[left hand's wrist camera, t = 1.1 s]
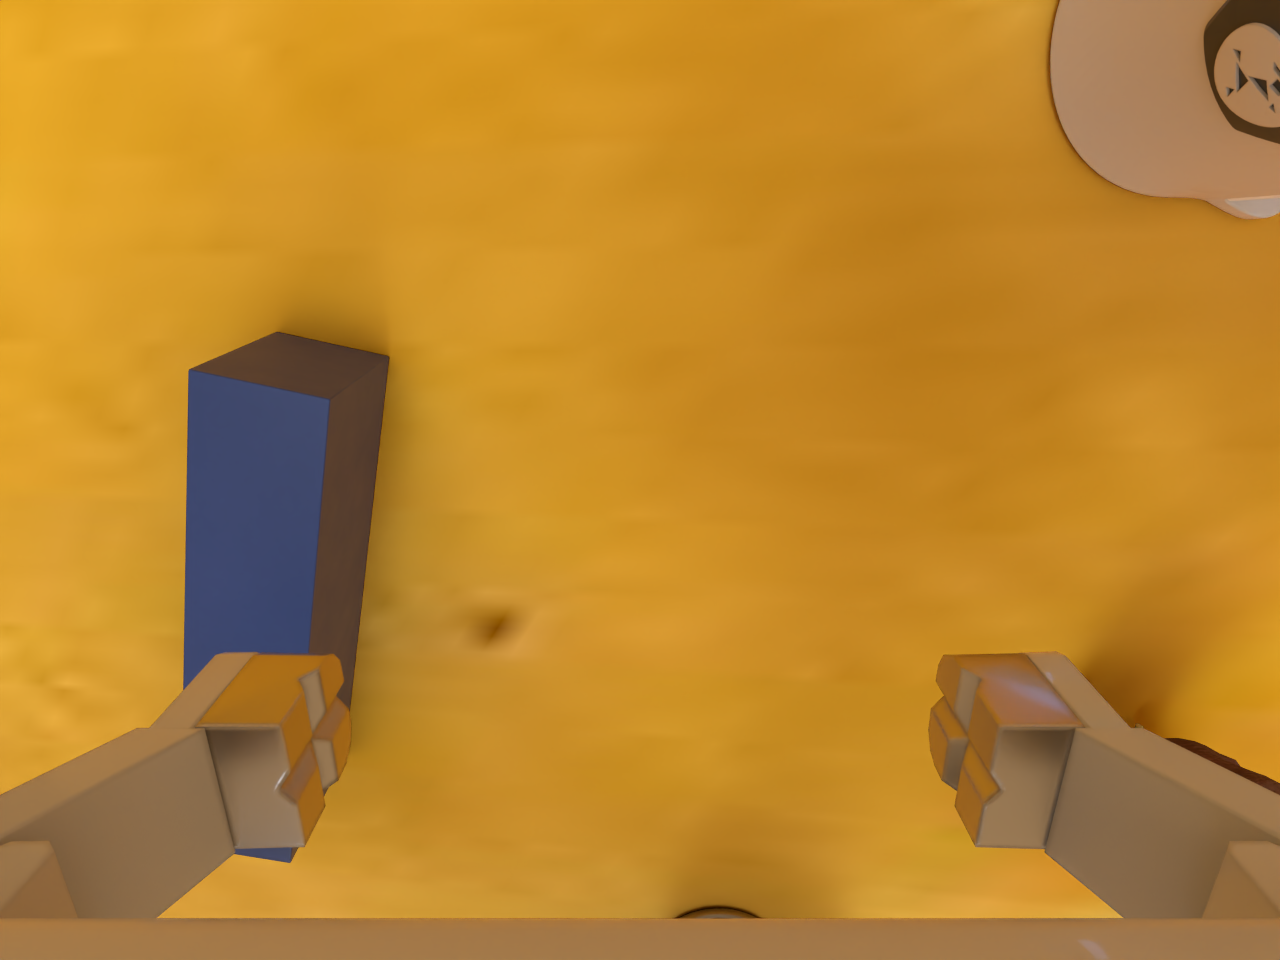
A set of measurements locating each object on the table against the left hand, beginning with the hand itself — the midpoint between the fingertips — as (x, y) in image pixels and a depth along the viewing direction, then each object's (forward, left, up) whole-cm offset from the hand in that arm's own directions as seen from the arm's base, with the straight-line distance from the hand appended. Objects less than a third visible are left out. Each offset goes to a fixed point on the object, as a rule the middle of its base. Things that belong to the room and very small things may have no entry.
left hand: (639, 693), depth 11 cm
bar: (+24, +2, -32) cm, 40 cm away
